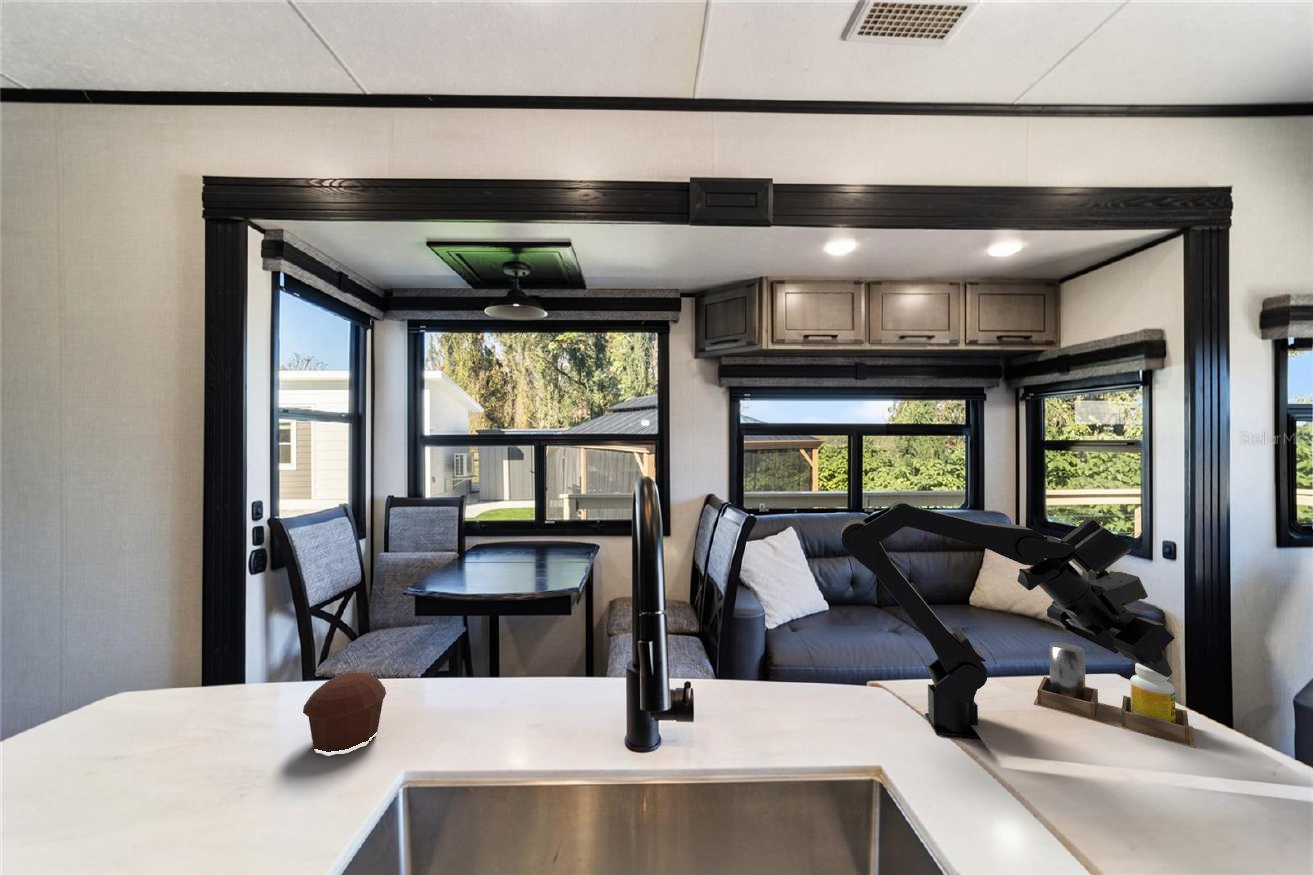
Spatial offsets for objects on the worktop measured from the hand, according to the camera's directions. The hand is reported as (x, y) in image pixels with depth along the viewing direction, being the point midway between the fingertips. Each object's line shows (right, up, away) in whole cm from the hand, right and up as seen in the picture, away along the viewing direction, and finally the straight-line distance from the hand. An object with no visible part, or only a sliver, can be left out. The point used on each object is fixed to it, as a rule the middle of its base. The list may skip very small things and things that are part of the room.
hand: (1142, 662), depth 83 cm
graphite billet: (-3, -12, +11) cm, 16 cm away
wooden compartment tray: (+1, -13, +7) cm, 15 cm away
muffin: (-127, -13, +1) cm, 128 cm away
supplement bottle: (+5, -12, +3) cm, 13 cm away
